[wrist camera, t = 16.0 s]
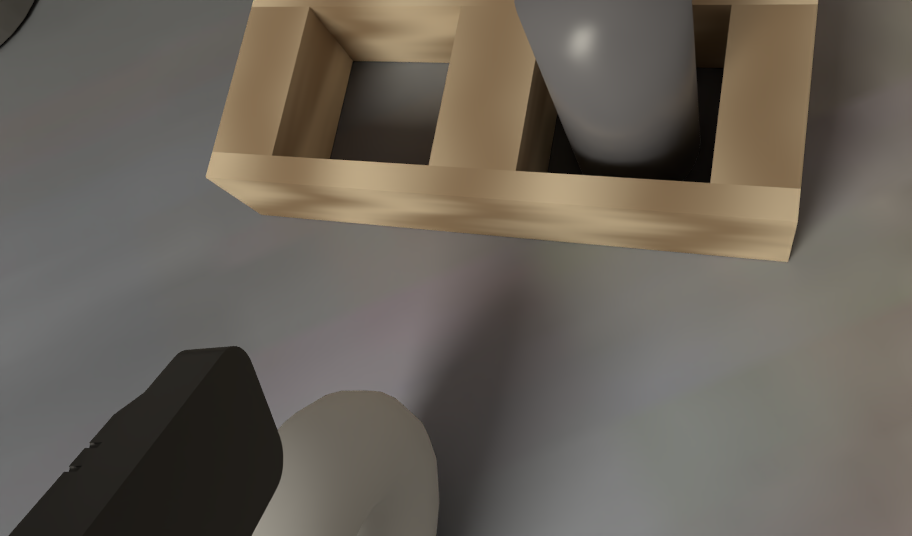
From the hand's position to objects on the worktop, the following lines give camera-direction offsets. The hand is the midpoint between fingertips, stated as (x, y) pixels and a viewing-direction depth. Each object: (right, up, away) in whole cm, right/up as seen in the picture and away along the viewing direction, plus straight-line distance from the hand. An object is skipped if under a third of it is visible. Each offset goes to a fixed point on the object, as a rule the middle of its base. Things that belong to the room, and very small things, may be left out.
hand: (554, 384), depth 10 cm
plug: (+5, +6, +20) cm, 22 cm away
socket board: (+1, +7, +22) cm, 23 cm away
